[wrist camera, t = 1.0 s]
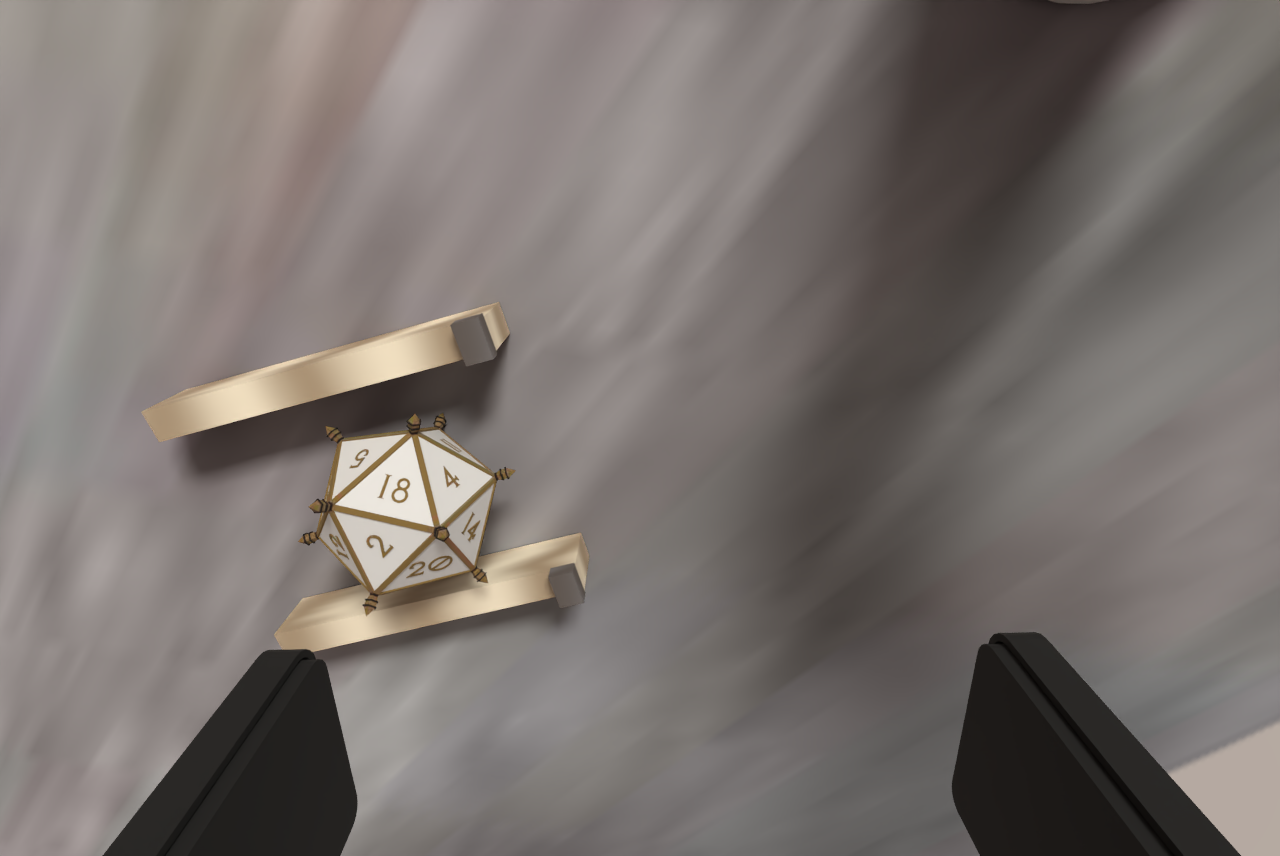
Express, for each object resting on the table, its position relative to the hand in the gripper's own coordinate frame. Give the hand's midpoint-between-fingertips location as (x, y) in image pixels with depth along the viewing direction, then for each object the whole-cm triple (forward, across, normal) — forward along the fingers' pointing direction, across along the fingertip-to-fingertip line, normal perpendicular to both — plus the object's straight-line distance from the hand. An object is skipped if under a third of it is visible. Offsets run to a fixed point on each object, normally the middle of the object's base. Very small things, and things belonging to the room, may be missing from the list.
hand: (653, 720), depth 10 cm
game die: (+23, +10, +6) cm, 26 cm away
